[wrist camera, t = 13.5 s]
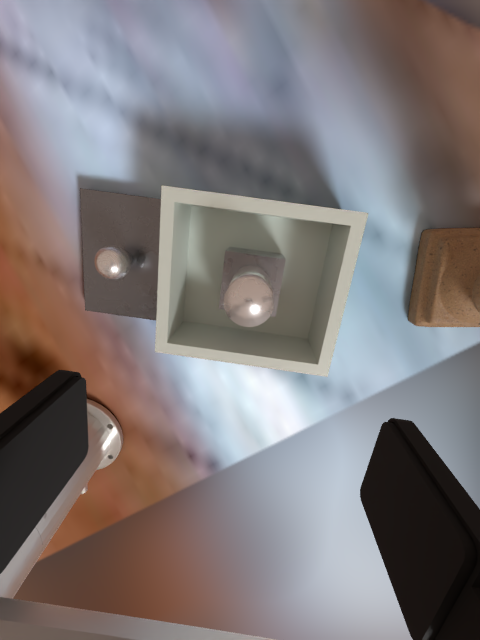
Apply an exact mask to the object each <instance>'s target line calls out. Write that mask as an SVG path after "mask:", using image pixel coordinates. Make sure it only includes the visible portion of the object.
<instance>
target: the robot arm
mask: <svg viewBox="0 0 480 640" xmlns="http://www.w3.org/2000/svg"><path fill="white" fill-rule="evenodd" d="M122 445H123V434H122V429H121V427H120V425H119V423H118V421H117V420H116V418H115V417H114V416H113V415H112V414H111V412H110V411H109V410H107V409H106V408H105V407H103V406H102V405H100V404H98V403H96V402H95V401H92V400H89V399H87V394H86V380H85V379H84V378H82V377H81V374H80V373H78V372H72V371H65V370H58V371H56V372H55V373H54V374H52V375H51V376H50V377H48V378H47V379H46V380H44V381H43V382H42V383H40V384H39V385H38V386H36V387H35V388H34V389H32V390H31V391H30V392H28V393H27V394H26V395H24V396H23V397H22V398H20V399H19V400H18V401H16V402H15V403H14V404H12V405H11V406H10V407H8V408H7V409H6V410H4V411H3V412H2V413H0V640H276V639H270V638H263V637H257V636H250V635H244V634H238V633H232V632H225V631H219V630H213V629H206V628H200V627H193V626H187V625H181V624H174V623H168V622H162V621H155V620H149V619H143V618H136V617H129V616H123V615H117V614H109V613H103V612H97V611H90V610H83V609H76V608H70V607H63V606H57V605H50V604H44V603H37V602H30V601H24V600H17V599H13V597H14V595H15V594H16V592H17V591H18V589H19V588H20V586H21V584H22V583H23V581H24V580H25V578H26V577H27V575H28V573H29V572H30V570H31V569H32V567H33V566H34V564H35V563H36V561H37V560H38V558H39V556H40V555H41V554H42V552H43V551H44V549H45V547H46V546H47V544H48V543H49V541H50V540H51V538H52V537H53V535H54V534H55V532H56V531H57V529H58V527H59V526H60V524H61V523H62V521H63V520H64V518H65V517H66V515H67V514H68V512H69V511H70V509H71V508H72V506H73V504H74V503H75V501H76V500H77V498H78V497H79V495H80V494H83V493H85V492H86V491H87V489H88V486H87V483H88V481H89V480H90V478H91V477H92V475H93V474H94V472H95V471H96V470H98V469H101V468H104V467H106V466H108V465H110V464H111V463H112V462H113V461H114V460H115V459H116V457H117V456H118V454H119V452H120V451H121V449H122ZM360 497H361V501H362V504H363V507H364V510H365V512H366V515H367V518H368V520H369V523H370V526H371V528H372V531H373V534H374V537H375V540H376V542H377V545H378V548H379V550H380V553H381V556H382V559H383V562H384V564H385V567H386V569H387V572H388V575H389V578H390V581H391V583H392V586H393V589H394V591H395V594H396V597H397V600H398V603H399V605H400V608H401V611H402V613H403V616H404V619H405V621H406V624H407V627H408V630H409V632H410V635H411V637H412V639H413V640H480V509H479V508H478V506H477V505H476V504H475V503H474V501H473V500H472V499H471V497H470V496H469V495H468V493H467V492H466V491H465V489H464V488H463V487H462V486H461V484H460V483H459V482H458V480H457V479H456V478H455V476H454V475H453V474H452V472H451V471H450V470H449V469H448V467H447V466H446V465H445V463H444V462H443V461H442V459H441V458H440V457H439V455H438V454H437V453H436V451H435V450H434V449H433V448H432V446H431V445H430V444H429V442H428V441H427V440H426V438H425V437H424V436H423V435H422V433H421V432H420V431H419V429H418V428H417V427H416V425H415V424H414V423H413V422H412V421H408V420H401V419H395V418H391V419H390V420H388V422H384V423H383V424H382V426H381V429H380V432H379V435H378V438H377V441H376V444H375V447H374V450H373V453H372V456H371V459H370V462H369V465H368V468H367V471H366V474H365V477H364V480H363V482H362V485H361V489H360Z"/></svg>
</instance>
